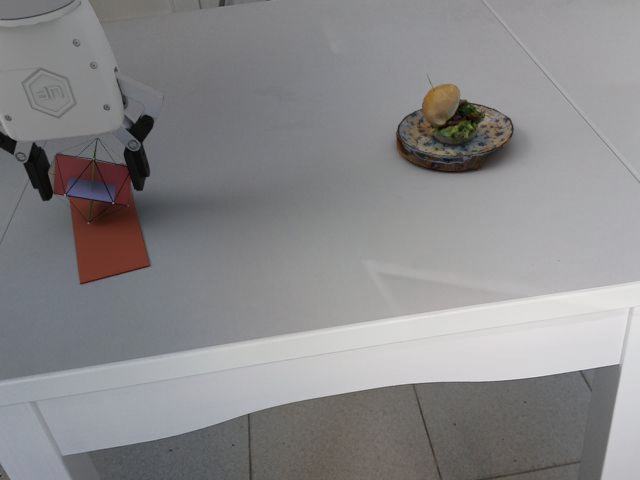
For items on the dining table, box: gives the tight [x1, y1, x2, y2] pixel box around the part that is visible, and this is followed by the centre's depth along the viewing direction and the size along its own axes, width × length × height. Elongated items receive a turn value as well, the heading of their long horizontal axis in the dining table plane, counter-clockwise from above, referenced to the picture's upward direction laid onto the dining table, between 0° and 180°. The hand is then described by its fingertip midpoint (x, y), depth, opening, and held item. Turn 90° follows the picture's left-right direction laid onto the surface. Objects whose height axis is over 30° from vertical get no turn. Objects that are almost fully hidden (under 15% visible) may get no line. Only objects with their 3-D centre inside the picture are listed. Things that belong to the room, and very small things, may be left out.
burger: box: [395, 74, 515, 172], centre depth 72 cm, size 12×12×8 cm
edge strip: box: [68, 162, 150, 285], centre depth 70 cm, size 6×20×1 cm, turn 19°
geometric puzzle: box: [48, 136, 132, 224], centre depth 68 cm, size 7×7×8 cm
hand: (95, 187), depth 68 cm, fingers closed on geometric puzzle, 8 cm apart
